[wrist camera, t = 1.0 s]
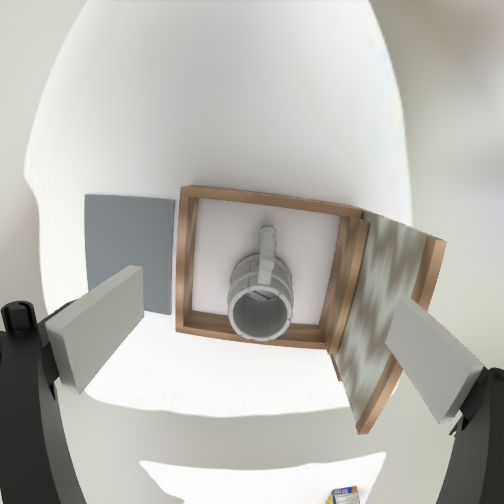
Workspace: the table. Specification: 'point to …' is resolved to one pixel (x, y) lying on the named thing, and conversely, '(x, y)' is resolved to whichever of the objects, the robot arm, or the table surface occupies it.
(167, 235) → the slate mat
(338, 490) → the beverage box
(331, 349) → the box
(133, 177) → the table surface
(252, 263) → the mug
